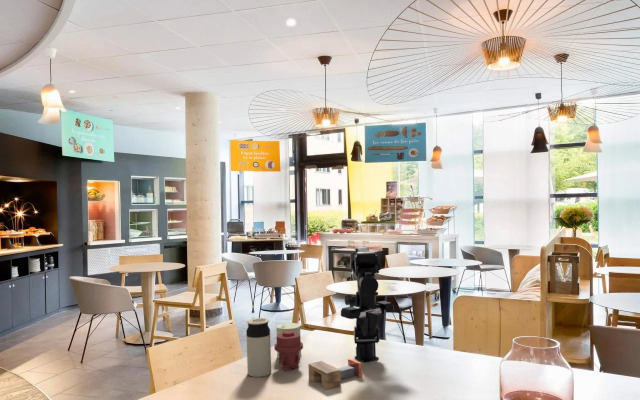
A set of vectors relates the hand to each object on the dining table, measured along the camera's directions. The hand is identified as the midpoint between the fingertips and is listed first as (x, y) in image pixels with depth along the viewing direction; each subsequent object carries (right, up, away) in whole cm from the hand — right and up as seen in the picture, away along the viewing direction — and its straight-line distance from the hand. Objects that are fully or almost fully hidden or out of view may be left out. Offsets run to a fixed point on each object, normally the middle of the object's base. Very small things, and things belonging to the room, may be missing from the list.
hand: (368, 335), depth 167 cm
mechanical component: (-27, -13, +6) cm, 31 cm away
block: (-15, -12, -10) cm, 22 cm away
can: (-28, -13, +18) cm, 36 cm away
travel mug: (-37, -13, +1) cm, 39 cm away
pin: (-8, -12, -5) cm, 16 cm away
